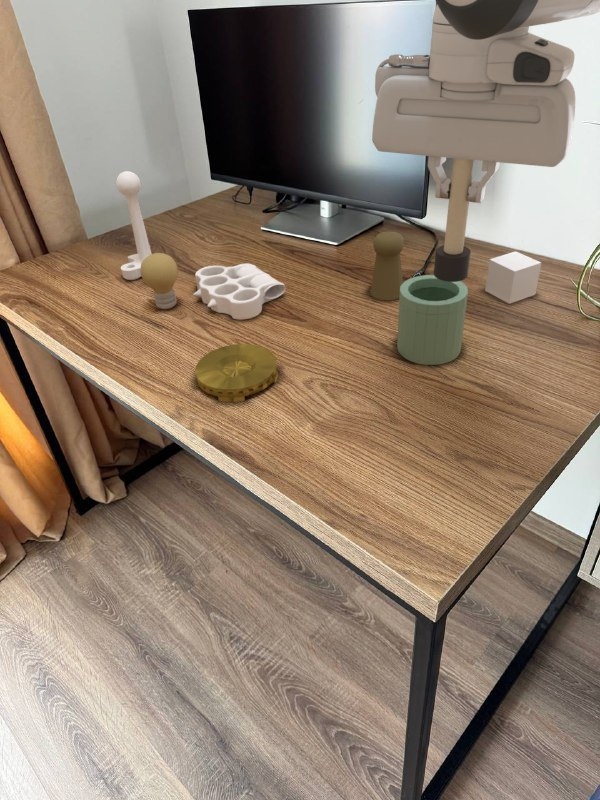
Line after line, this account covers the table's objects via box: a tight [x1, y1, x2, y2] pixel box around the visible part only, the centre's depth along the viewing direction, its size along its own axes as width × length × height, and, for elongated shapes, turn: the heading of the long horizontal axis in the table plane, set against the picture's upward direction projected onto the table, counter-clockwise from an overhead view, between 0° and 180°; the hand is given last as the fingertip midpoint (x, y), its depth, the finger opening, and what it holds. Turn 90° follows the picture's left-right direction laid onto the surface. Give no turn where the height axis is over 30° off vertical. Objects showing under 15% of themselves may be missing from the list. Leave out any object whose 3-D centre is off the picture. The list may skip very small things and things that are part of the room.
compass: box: [194, 343, 279, 403], centre depth 87 cm, size 12×12×2 cm
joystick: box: [115, 170, 153, 281], centre depth 113 cm, size 11×8×20 cm
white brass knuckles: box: [192, 262, 287, 321], centre depth 108 cm, size 3×18×15 cm
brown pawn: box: [369, 231, 405, 301], centre depth 103 cm, size 6×6×11 cm
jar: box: [396, 274, 469, 366], centre depth 88 cm, size 10×10×10 cm
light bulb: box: [140, 252, 179, 310], centre depth 104 cm, size 6×6×10 cm
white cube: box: [484, 251, 542, 305], centre depth 102 cm, size 6×6×6 cm
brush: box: [433, 158, 476, 282], centre depth 66 cm, size 4×4×15 cm
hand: (459, 199), depth 65 cm, fingers closed on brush, 2 cm apart
